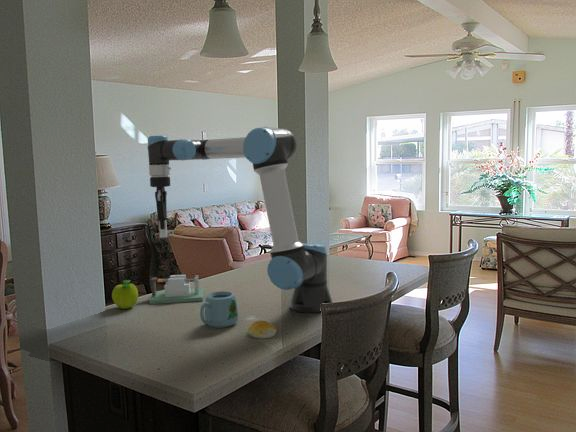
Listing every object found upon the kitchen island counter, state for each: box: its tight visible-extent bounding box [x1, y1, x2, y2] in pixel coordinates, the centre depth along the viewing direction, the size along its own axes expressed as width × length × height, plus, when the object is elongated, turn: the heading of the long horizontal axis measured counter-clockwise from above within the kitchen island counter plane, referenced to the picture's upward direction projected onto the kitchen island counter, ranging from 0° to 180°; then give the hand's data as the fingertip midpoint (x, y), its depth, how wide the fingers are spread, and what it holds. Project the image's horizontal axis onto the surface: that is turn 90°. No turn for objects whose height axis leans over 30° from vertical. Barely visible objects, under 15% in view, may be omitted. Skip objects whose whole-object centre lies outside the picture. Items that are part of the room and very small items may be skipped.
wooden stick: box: [156, 278, 195, 283], centre depth 203 cm, size 16×2×1 cm, turn 95°
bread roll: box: [247, 320, 278, 340], centre depth 160 cm, size 8×9×4 cm
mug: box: [199, 291, 239, 329], centre depth 169 cm, size 15×11×10 cm
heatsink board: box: [148, 274, 206, 305], centre depth 204 cm, size 20×13×8 cm, turn 95°
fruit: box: [111, 279, 139, 310], centre depth 192 cm, size 9×9×10 cm
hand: (163, 237), depth 201 cm, fingers closed
